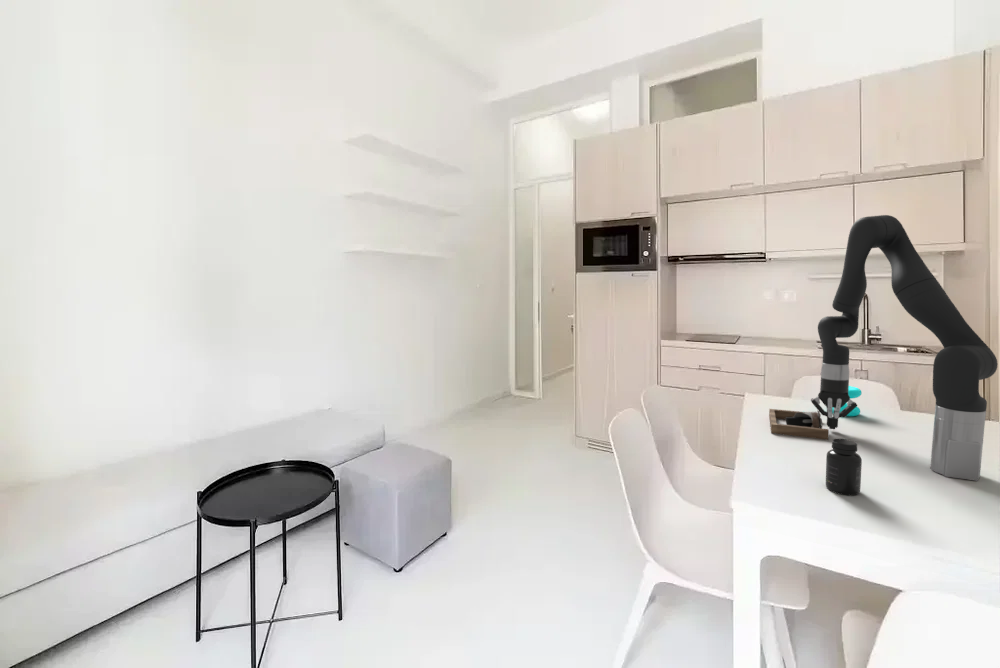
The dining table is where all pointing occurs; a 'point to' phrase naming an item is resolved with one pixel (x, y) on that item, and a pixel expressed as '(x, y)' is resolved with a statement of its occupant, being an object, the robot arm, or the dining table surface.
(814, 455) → the dining table surface
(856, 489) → the supplement bottle
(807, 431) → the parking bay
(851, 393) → the donuts
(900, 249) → the robot arm
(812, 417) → the caster wheel
